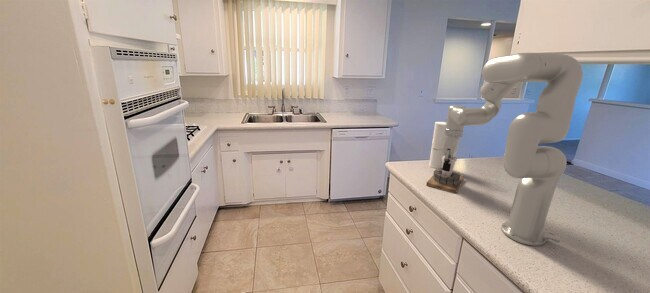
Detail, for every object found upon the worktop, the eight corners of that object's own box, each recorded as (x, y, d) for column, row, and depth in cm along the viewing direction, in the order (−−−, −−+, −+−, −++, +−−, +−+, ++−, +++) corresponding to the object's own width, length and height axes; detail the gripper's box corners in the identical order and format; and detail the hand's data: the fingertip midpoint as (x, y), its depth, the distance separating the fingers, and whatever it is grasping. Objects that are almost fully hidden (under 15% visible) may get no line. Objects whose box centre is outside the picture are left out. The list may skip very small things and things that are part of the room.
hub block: (463, 180, 137) (465, 170, 135) (455, 193, 123) (457, 182, 121) (436, 173, 144) (438, 164, 143) (426, 185, 130) (427, 175, 129)
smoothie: (444, 172, 137) (448, 146, 132) (456, 177, 132) (461, 149, 127) (436, 175, 133) (440, 148, 129) (448, 180, 128) (453, 151, 124)
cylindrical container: (440, 164, 158) (446, 121, 150) (444, 169, 151) (451, 124, 143) (427, 163, 158) (433, 121, 151) (430, 168, 151) (437, 124, 144)
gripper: (449, 127, 135) (444, 161, 140) (440, 134, 121) (434, 172, 127) (466, 130, 130) (459, 165, 136) (458, 137, 117) (451, 176, 122)
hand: (447, 168), depth 131 cm, fingers closed on smoothie, 6 cm apart
